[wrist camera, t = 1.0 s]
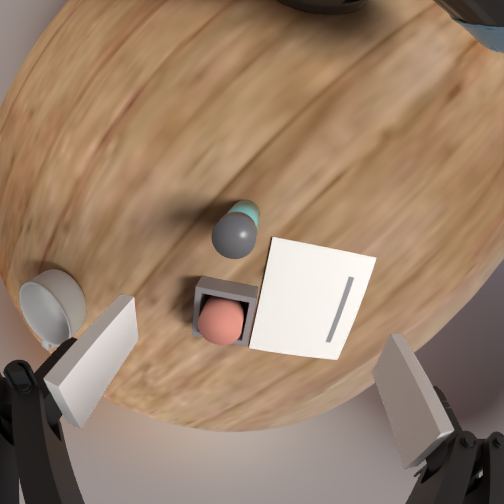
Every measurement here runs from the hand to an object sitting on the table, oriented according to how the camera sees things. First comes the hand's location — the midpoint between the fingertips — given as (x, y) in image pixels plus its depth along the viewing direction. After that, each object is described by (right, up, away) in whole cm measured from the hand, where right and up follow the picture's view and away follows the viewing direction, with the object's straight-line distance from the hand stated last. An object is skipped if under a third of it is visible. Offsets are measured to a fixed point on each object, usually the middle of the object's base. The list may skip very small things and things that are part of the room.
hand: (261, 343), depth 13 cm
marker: (-1, +9, +18) cm, 20 cm away
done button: (-4, -3, +20) cm, 21 cm away
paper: (+7, -2, +21) cm, 22 cm away
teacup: (-31, -3, +24) cm, 39 cm away
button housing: (-4, -2, +22) cm, 22 cm away
